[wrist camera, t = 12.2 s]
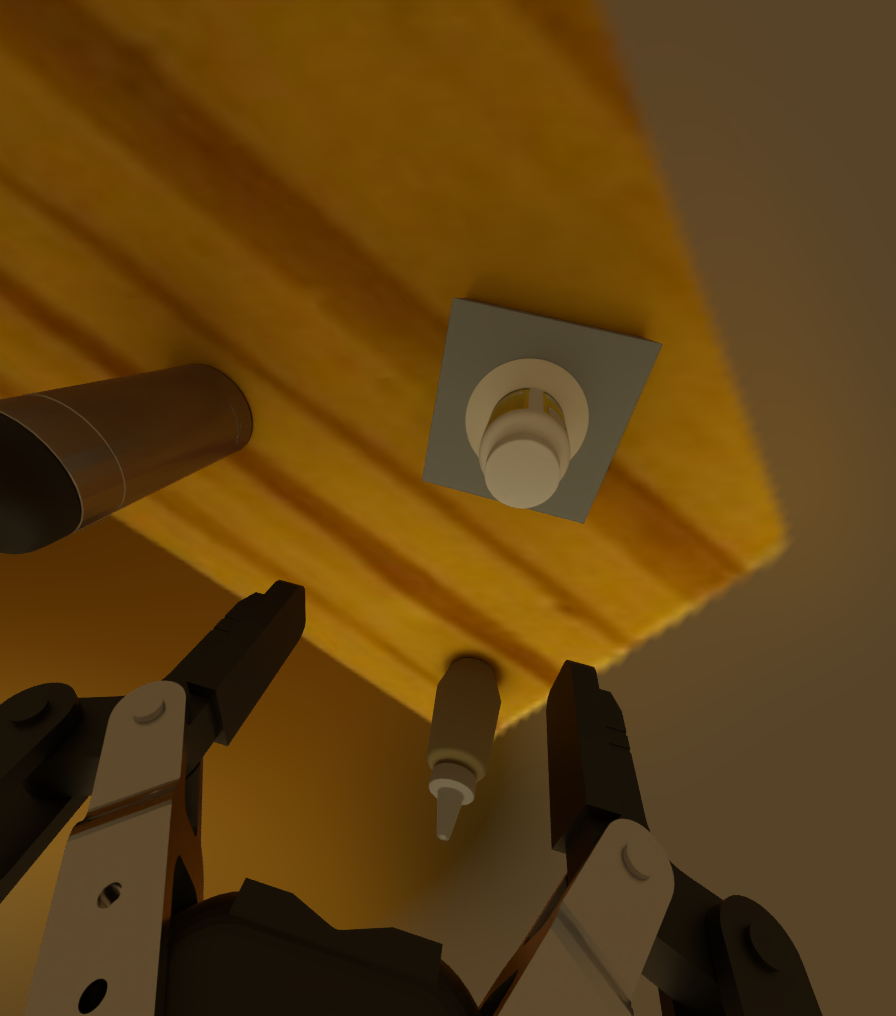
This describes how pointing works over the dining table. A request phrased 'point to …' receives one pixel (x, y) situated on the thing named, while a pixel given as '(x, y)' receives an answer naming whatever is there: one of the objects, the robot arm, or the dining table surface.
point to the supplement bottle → (525, 448)
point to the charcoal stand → (539, 364)
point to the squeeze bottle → (461, 737)
